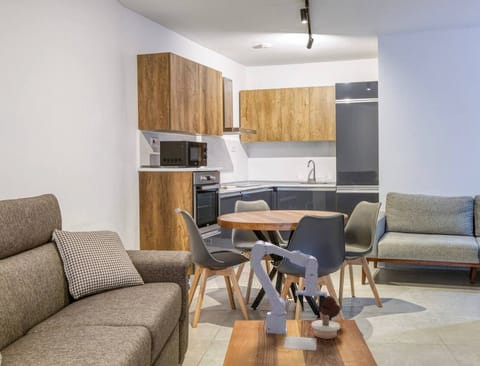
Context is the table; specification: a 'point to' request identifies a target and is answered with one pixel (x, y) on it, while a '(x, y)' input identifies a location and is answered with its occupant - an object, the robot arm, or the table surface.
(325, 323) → the lid
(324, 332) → the bowl
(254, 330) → the table surface
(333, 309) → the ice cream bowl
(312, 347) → the mat
